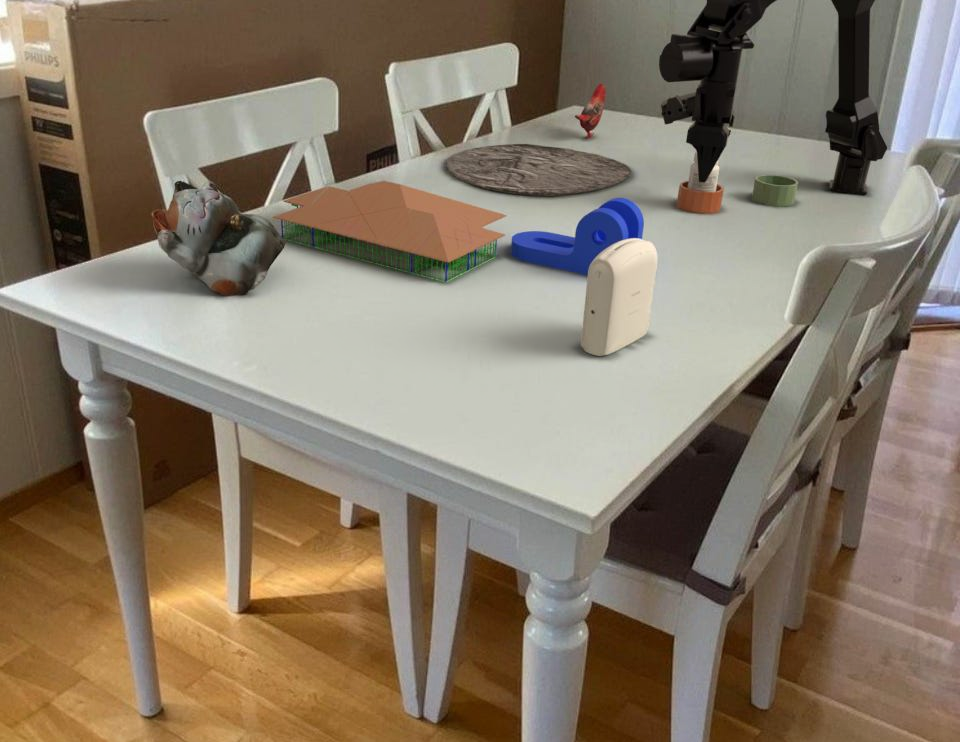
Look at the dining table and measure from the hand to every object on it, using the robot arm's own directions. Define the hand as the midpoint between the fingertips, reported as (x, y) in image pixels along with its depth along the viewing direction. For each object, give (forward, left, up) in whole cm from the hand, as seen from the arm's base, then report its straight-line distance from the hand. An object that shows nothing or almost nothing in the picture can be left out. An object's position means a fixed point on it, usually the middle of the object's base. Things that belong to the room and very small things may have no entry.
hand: (703, 178), depth 171 cm
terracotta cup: (0, 0, -5) cm, 5 cm away
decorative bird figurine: (-40, -27, -5) cm, 49 cm away
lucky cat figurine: (+62, -56, -5) cm, 84 cm away
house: (+37, -41, -5) cm, 56 cm away
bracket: (+36, -15, -5) cm, 39 cm away
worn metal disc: (-11, -31, -5) cm, 33 cm away
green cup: (-10, +12, -5) cm, 16 cm away
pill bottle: (0, 0, -5) cm, 4 cm away
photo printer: (+63, -4, -5) cm, 63 cm away
